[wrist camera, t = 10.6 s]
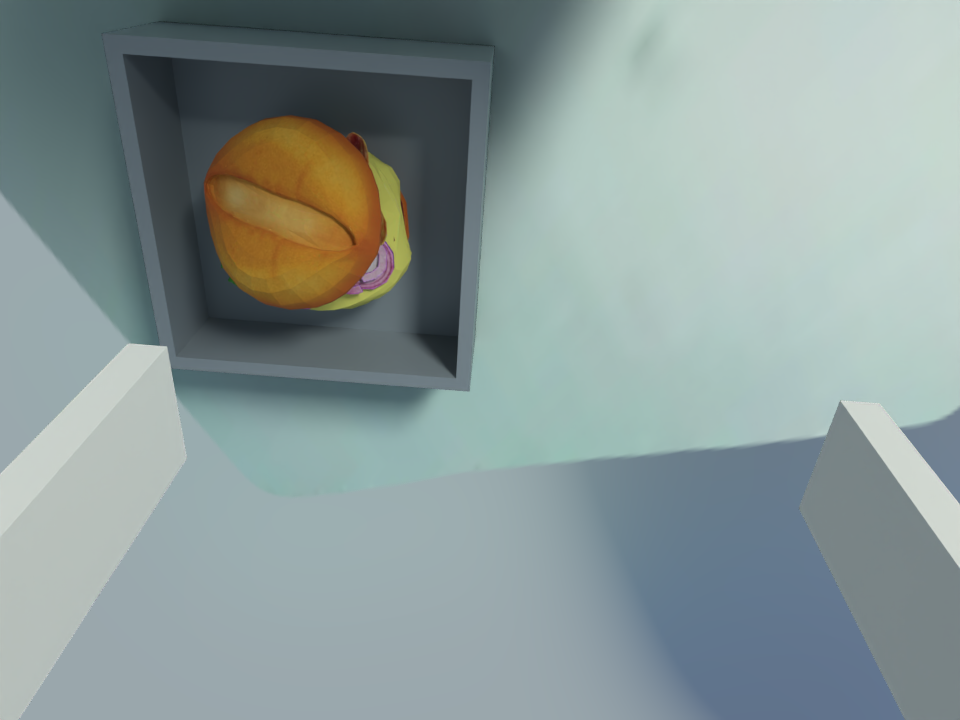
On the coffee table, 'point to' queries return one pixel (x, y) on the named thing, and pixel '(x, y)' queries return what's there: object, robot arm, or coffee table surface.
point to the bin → (345, 108)
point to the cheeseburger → (306, 216)
